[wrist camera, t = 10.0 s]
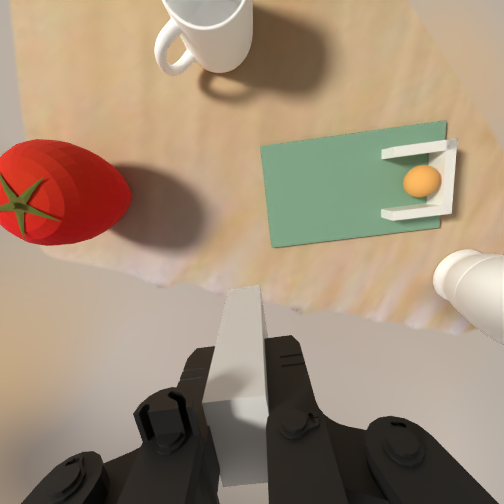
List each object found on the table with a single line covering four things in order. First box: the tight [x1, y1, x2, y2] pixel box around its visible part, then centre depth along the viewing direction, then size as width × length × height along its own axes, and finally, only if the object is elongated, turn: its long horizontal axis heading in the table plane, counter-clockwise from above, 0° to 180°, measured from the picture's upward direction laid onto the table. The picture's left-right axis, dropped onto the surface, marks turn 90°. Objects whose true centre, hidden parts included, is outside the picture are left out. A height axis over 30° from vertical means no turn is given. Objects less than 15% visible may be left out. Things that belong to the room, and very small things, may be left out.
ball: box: [403, 165, 440, 197], centre depth 33 cm, size 4×4×4 cm
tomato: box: [0, 139, 132, 246], centre depth 30 cm, size 13×11×14 cm
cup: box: [155, 0, 253, 76], centre depth 27 cm, size 8×12×10 cm
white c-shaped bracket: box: [381, 138, 457, 221], centre depth 34 cm, size 9×7×3 cm
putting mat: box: [260, 121, 446, 248], centre depth 36 cm, size 14×24×1 cm, turn 97°
